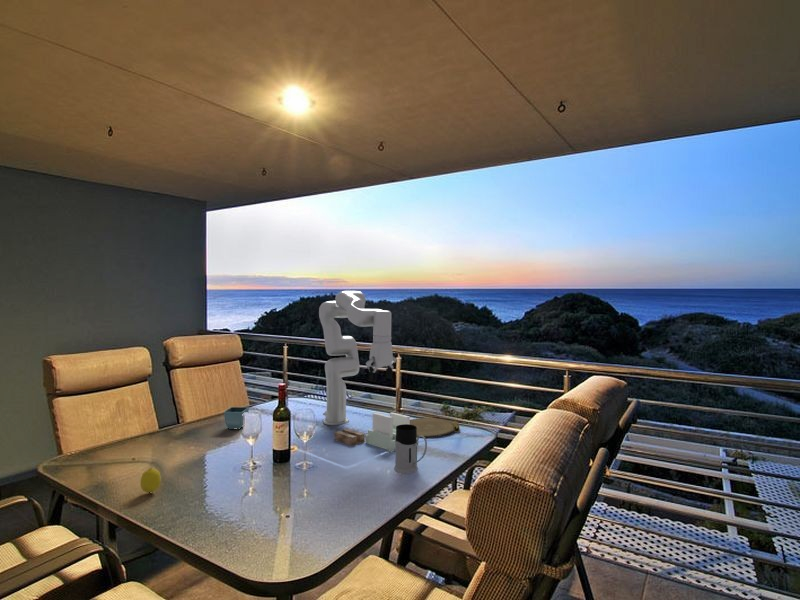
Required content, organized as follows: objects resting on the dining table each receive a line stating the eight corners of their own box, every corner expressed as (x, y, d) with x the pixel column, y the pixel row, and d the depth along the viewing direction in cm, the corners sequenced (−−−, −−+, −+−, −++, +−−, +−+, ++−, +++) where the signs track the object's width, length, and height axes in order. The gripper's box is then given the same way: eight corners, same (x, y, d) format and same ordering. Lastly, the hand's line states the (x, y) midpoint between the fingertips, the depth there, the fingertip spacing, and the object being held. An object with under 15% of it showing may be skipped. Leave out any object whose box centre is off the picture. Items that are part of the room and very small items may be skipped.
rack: (365, 444, 182) (365, 418, 182) (392, 434, 195) (392, 410, 194) (389, 452, 173) (390, 424, 173) (416, 441, 186) (416, 416, 185)
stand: (333, 441, 185) (333, 432, 185) (346, 437, 191) (346, 428, 191) (352, 447, 178) (352, 438, 178) (365, 443, 183) (365, 433, 183)
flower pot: (242, 431, 198) (242, 411, 198) (223, 431, 199) (223, 411, 198) (249, 425, 207) (249, 407, 207) (230, 425, 207) (231, 406, 207)
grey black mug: (406, 462, 163) (406, 422, 162) (434, 473, 152) (434, 430, 152) (389, 468, 156) (389, 427, 156) (417, 480, 146) (417, 436, 146)
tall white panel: (372, 441, 182) (372, 413, 182) (375, 440, 183) (375, 412, 183) (390, 447, 176) (390, 417, 176) (392, 446, 177) (392, 416, 177)
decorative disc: (396, 416, 219) (455, 414, 219) (397, 422, 219) (456, 420, 219) (394, 434, 191) (462, 431, 190) (395, 441, 191) (463, 439, 190)
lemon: (146, 499, 132) (146, 472, 132) (136, 494, 135) (137, 469, 134) (164, 492, 136) (164, 467, 136) (154, 488, 139) (155, 463, 139)
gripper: (389, 337, 191) (388, 376, 191) (360, 340, 178) (360, 381, 178) (402, 338, 186) (401, 378, 186) (373, 342, 173) (373, 384, 173)
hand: (381, 380), depth 182 cm, fingers open, 9 cm apart
